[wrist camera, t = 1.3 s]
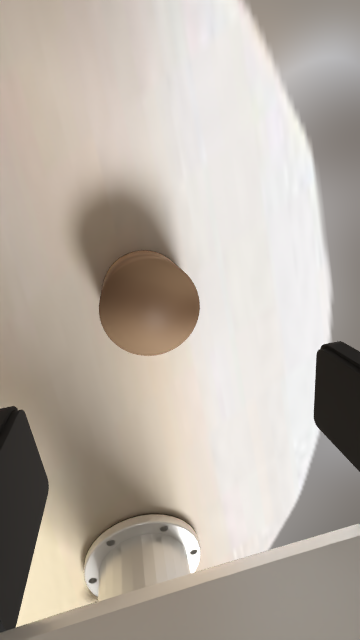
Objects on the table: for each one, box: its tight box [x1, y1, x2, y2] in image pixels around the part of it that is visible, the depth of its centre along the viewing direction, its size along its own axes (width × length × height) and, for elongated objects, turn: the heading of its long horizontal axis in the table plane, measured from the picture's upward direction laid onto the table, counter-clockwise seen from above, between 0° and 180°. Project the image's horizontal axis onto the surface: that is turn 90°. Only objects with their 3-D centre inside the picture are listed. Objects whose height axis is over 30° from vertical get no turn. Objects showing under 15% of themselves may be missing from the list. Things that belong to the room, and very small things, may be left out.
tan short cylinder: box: [99, 250, 200, 356], centre depth 23 cm, size 7×7×5 cm
